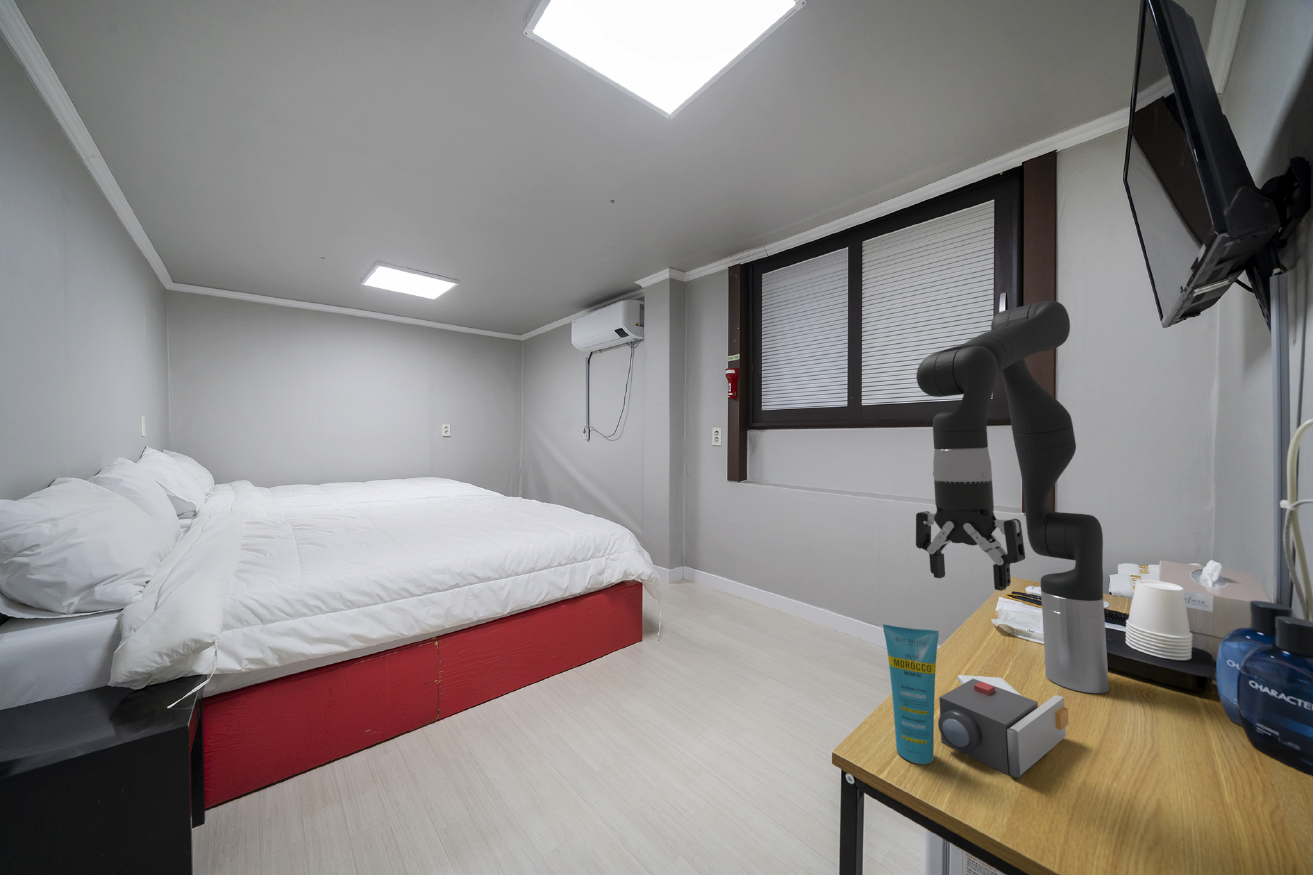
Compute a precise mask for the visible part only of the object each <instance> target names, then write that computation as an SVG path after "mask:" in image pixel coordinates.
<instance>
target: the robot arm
mask: <svg viewBox="0 0 1313 875" xmlns="http://www.w3.org/2000/svg"><path fill="white" fill-rule="evenodd" d="M990 324H991V326H990V330H989V331H986V332H984V333H981V334H979V335H977V336H975V337H973V338H971V339H969V340H968V341H966V342H964V343H963V344H962V343H961V344H960V345H956V346H953V347H950V348H946V349H942V350H939V351H936V352H934V353H931V354H929V355H927V356H926V357H925V358H924V359H922V361H921V363H920V364H919V365H918V368H917V370H916V374H915V375H916V376H915V377H916V382H917V385H918V387H919V389H920V390H921V391H922V392H923V393H925V394H926V395H928V396H930V397H935V398H942V397H953V396H958V395H959V396H960V395H963V396H962V398H961V400H960V402H959V404H958V405H957V406H956V407H954V408H953V409H952V408H951V409H948V410H946V411H943V412H942V411H941V412H939V413H938V414H936V415H935V416H934V417H933V419H932V436H933V449H934V450H933V453H934V454H933V462H932V464H933V465H932V467H933V469H932V470H933V471H932V476H933V484H934V485H933V486H934V501H935V503H934V504H935V508H936V511H935V513H932V512H930V511H927V510H924V511H920V512H917V513H916V514H915V546H916V548H918V549H922V550H924V551H926V552H927V553H928V556H929V557H928V558H929V570H930V572H931V574H933V578H935V579H942V578H945V577H946V566H945V565H946V563H945V553H943V551H944V549H946V547H947V546H948V545H949V544H950V543H953V544H966V545H967V546H974V547H975V546H978V547H979V548H980V549H981V550H982V551H983V552H984V553H985V554H987V556H989V558H990V559H991V561H993V562H994V564H992V567H993V569H992V570H993V584H994V586H993V587H994V590H996V591H1000V592H1002V591H1005V590H1006V589H1007V587H1010V586H1011V582H1012V579H1011V567H1010V566H1011V564H1016V563H1019V562H1022V561H1024V560H1025V559H1026V552H1025V550H1026V549H1025V544H1024V536H1023V530H1022V529H1023V528H1022V523H1021V520H1020V519H1018V518H1012V519H997V518H996V516H995V514H994V513H995V512H994V510H995V508H994V507H995V506H994V503H995V502H994V489H993V475H992V473H993V472H992V461H991V458H990V453H989V448H988V447H989V439H988V426H987V424H988V423H987V421H988V414H989V410H990V405H991V400H992V397H993V393H994V389H995V386H996V383H997V378H998V375H999V373H1001V378H1002V381H1003V384H1004V389H1005V394H1006V398H1007V403H1008V404H1007V405H1008V412H1009V417H1010V424H1011V431H1012V437H1013V442H1014V447H1015V452H1016V457H1017V461H1018V466H1019V471H1020V475H1021V477H1020V478H1021V482H1022V490H1023V498H1024V500H1023V501H1024V511H1025V512H1024V513H1025V523H1026V532H1027V538H1028V543H1029V545H1030V547H1031V549H1032V551H1033V552H1034V553H1035V554H1036V555H1040V556H1044V557H1049V558H1054V559H1060V560H1061V559H1062V560H1070V561H1075V563H1074V564H1075V565H1074V568H1073V569H1071V570H1067V571H1063V572H1055V573H1054V572H1053V573H1048V574H1044V575H1043V576H1041V578H1040V594H1041V595H1040V597H1041V598H1040V599H1041V612H1042V616H1041V617H1042V630H1043V633H1042V634H1043V650H1044V652H1043V653H1044V667H1045V668H1044V669H1045V677H1046V678H1047V679H1048V680H1049V681H1050V682H1053V683H1054V684H1057V685H1059V686H1061V687H1064V688H1066V689H1070V690H1073V691H1077V692H1082V693H1088V694H1104V693H1107V692H1108V691H1109V688H1110V687H1109V672H1108V655H1107V654H1108V652H1107V637H1106V623H1105V622H1106V621H1105V620H1106V619H1105V618H1106V617H1105V608H1104V606H1105V605H1104V572H1103V571H1104V570H1103V567H1104V566H1103V562H1104V561H1103V559H1104V558H1103V552H1104V550H1103V548H1104V539H1103V538H1104V536H1103V535H1104V534H1103V528H1102V526H1101V522H1100V521H1099V519H1098V518H1096V517H1095V515H1093V514H1092V515H1091V514H1085V513H1073V512H1061V511H1052V510H1051V507H1050V499H1051V498H1050V497H1051V493H1052V490H1053V488H1054V486H1055V485H1056V483H1057V481H1058V480H1059V478H1060V476H1062V474H1063V473H1064V471H1065V470H1066V468H1067V467H1068V466H1069V465H1070V462H1071V461H1072V459H1073V457H1074V455H1075V453H1076V449H1077V443H1076V437H1075V431H1074V425H1073V420H1072V417H1071V414H1070V413H1069V411H1068V409H1066V407H1065V406H1064V405H1063V404H1062V403H1060V401H1058V400H1057V399H1056V397H1054V396H1053V395H1051V393H1049V392H1048V391H1047V390H1046V389H1045V388H1044V387H1043V386H1042V385H1040V384H1039V382H1038V381H1037V380H1036V379H1035V378H1034V376H1033V375H1032V373H1031V372H1030V370H1029V367H1028V365H1027V363H1026V361H1025V358H1028V357H1029V356H1032V355H1034V354H1038V353H1040V352H1046V351H1050V350H1054V349H1056V348H1059V347H1060V346H1062V345H1063V344H1064V343H1065V342H1067V340H1068V338H1069V335H1070V332H1071V323H1070V317H1069V313H1068V310H1067V309H1066V307H1065V305H1063V304H1062V303H1060V302H1059V301H1055V300H1043V301H1039V302H1036V303H1034V302H1033V303H1030V304H1026V305H1022V306H1018V307H1014V308H1011V309H1005V310H1003V311H1000V312H999V311H998V312H997V313H996V314H995V315H994V316H993V317H992V319H991V323H990ZM934 523H935V524H936V525H937V526H938V528H939V529H940V530H939V532H938V533H937V534H936V536H934V538H933V541H932V526H933V525H934ZM997 528H998V529H999V531H1000V533H1001V534H1002V535H1003V536H1004V537H1005V545H1006V550H1005V549H1004V547H1002V543H1001V542H1000V541H999V539H998V538H997V537H996V536H995V535H994V534H993V533H994V532H995V530H996V529H997Z"/></svg>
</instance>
